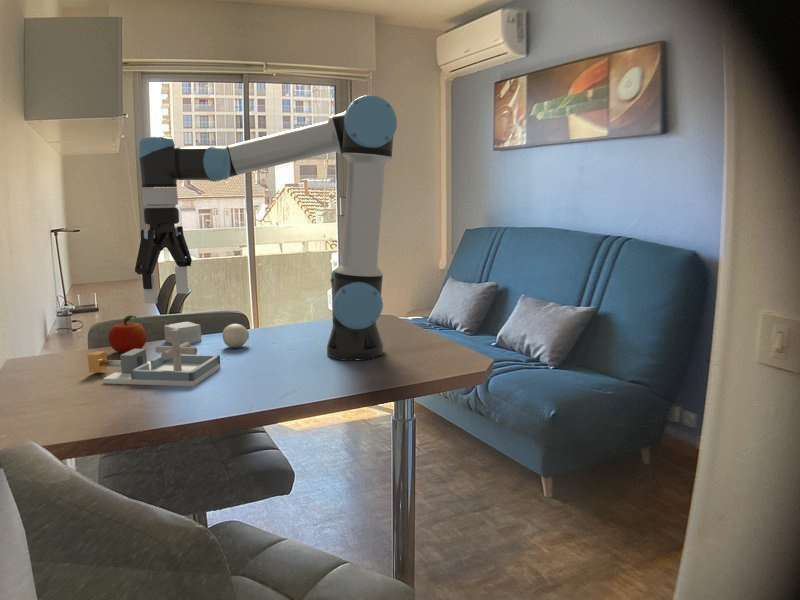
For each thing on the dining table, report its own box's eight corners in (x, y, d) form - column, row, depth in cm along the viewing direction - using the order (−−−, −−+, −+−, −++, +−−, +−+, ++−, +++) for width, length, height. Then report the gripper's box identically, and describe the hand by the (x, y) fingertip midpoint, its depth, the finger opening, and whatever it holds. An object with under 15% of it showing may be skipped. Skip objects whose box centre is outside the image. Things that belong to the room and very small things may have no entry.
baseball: (253, 347, 178) (252, 324, 177) (228, 351, 174) (226, 327, 173) (244, 342, 183) (243, 320, 182) (220, 346, 179) (218, 323, 178)
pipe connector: (185, 377, 146) (183, 335, 144) (146, 375, 148) (143, 334, 146) (207, 366, 155) (204, 326, 154) (170, 364, 157) (167, 324, 156)
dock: (220, 367, 158) (219, 345, 157) (193, 386, 143) (191, 362, 142) (138, 365, 161) (136, 344, 160) (103, 383, 146) (101, 360, 145)
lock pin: (139, 369, 155) (138, 352, 154) (132, 373, 151) (130, 355, 151) (97, 368, 156) (95, 351, 155) (89, 372, 153) (87, 354, 152)
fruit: (101, 354, 172) (98, 318, 170) (128, 346, 181) (125, 312, 179) (128, 358, 168) (125, 321, 167) (154, 349, 177) (151, 314, 175)
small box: (202, 341, 186) (201, 324, 186) (177, 346, 181) (176, 328, 180) (189, 337, 192) (188, 320, 191) (164, 342, 186) (163, 325, 185)
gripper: (174, 205, 158) (180, 289, 161) (112, 208, 133) (120, 307, 137) (202, 205, 156) (207, 289, 160) (144, 208, 132) (152, 308, 136)
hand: (167, 298), depth 148 cm, fingers open, 13 cm apart
